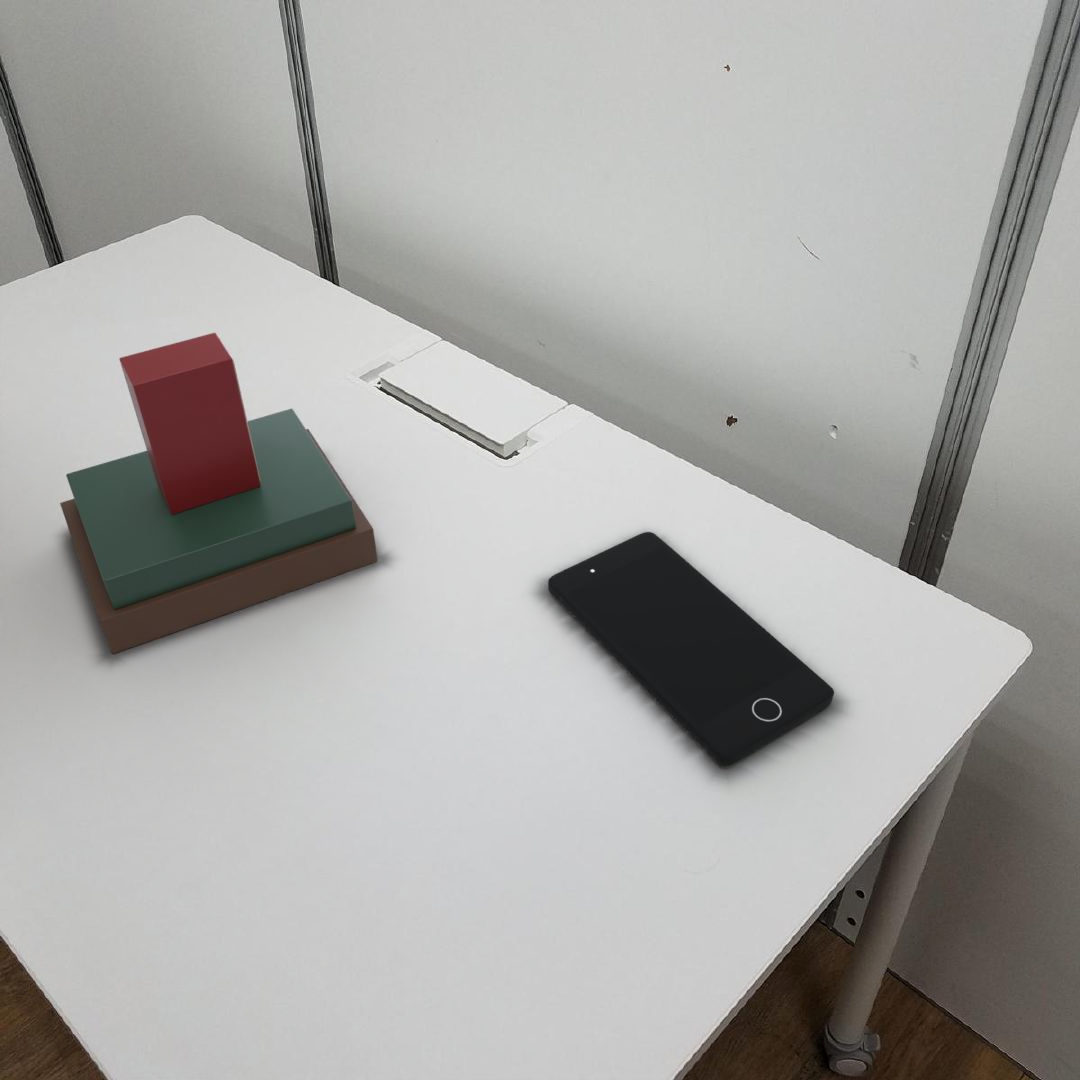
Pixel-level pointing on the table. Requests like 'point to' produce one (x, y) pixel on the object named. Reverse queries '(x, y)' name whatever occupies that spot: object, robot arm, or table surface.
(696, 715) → the cell phone
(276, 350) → the table surface
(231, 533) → the book pile
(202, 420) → the upright red rectangular block
